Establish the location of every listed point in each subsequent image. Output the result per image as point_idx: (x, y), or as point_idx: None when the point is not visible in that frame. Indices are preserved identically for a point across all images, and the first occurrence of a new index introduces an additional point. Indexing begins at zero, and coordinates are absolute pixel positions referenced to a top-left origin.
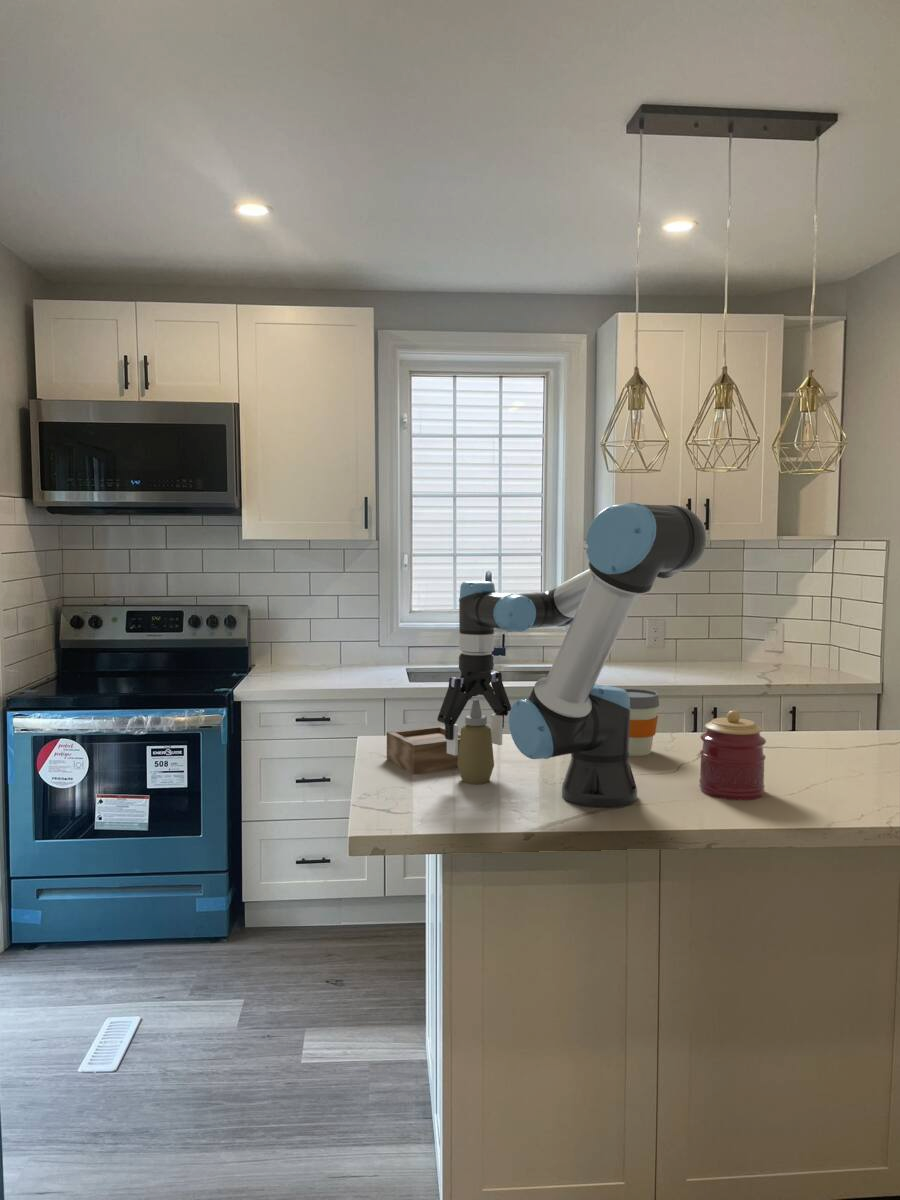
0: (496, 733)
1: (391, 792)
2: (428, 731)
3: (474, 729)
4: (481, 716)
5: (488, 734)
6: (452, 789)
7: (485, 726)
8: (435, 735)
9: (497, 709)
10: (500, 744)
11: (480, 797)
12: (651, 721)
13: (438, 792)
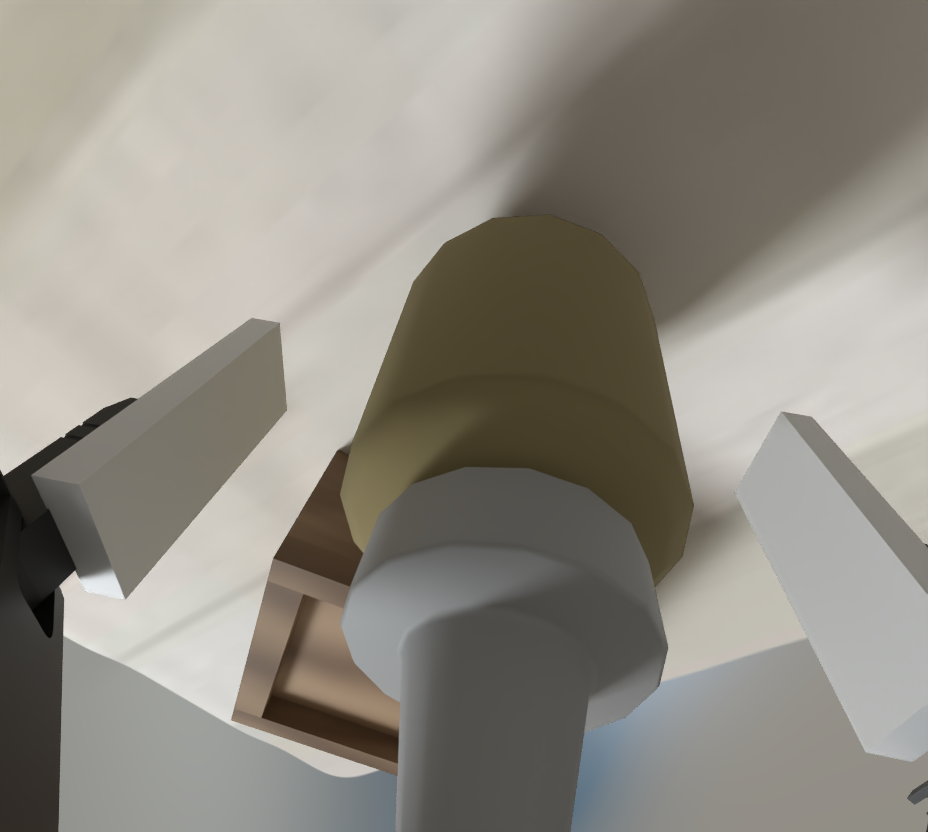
0: (234, 406)
1: (920, 509)
2: (320, 722)
3: (658, 494)
4: (478, 611)
5: (506, 345)
6: (739, 318)
7: (466, 454)
8: (323, 689)
9: (17, 603)
10: (270, 323)
11: (851, 47)
12: None
13: (833, 344)
